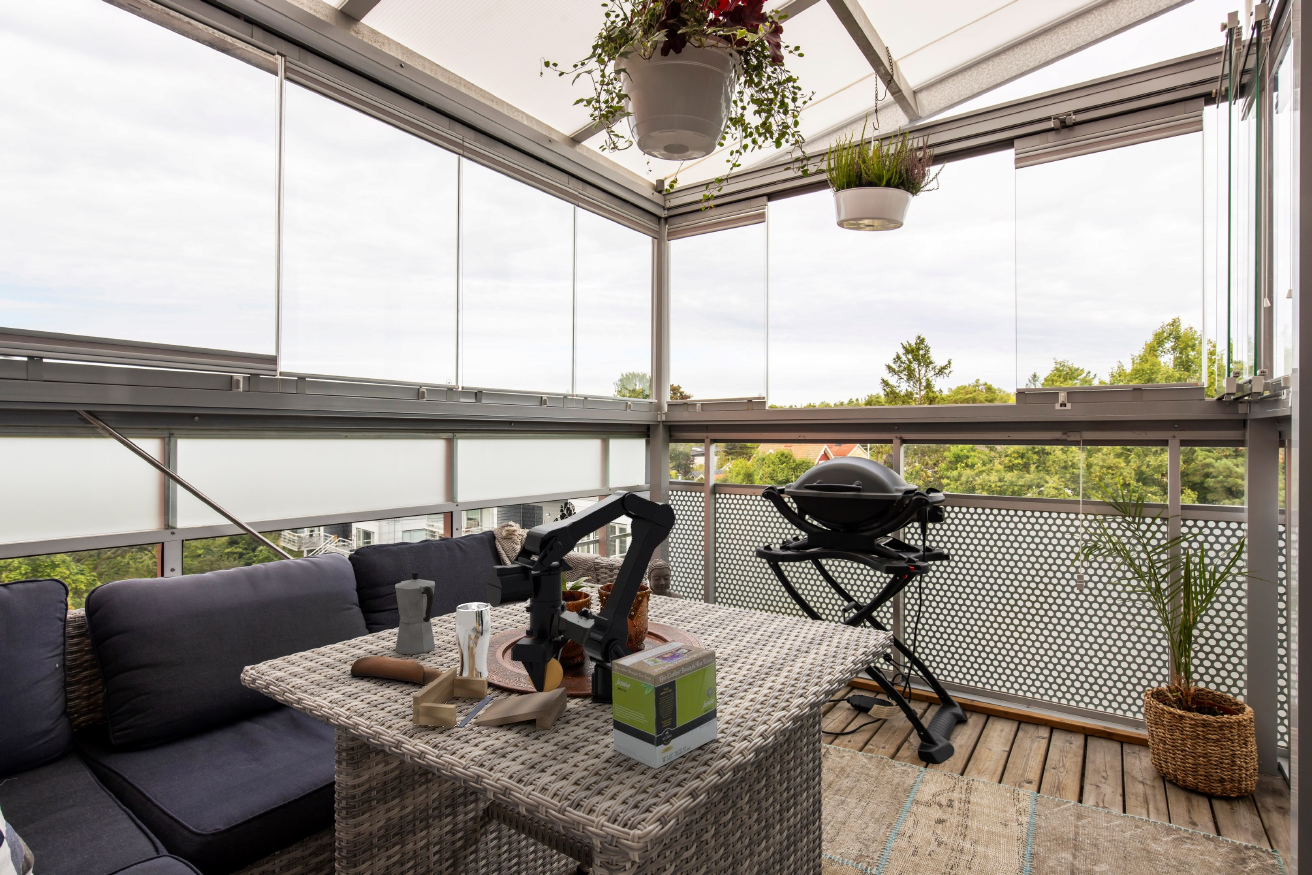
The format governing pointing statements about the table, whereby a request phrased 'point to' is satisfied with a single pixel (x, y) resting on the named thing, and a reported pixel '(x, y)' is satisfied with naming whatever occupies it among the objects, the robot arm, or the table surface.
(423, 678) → the sunglasses case
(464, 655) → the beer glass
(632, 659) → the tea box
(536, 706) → the ramp
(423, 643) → the coffeepot
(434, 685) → the wooden u-shaped bracket
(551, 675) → the ball
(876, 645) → the table surface
